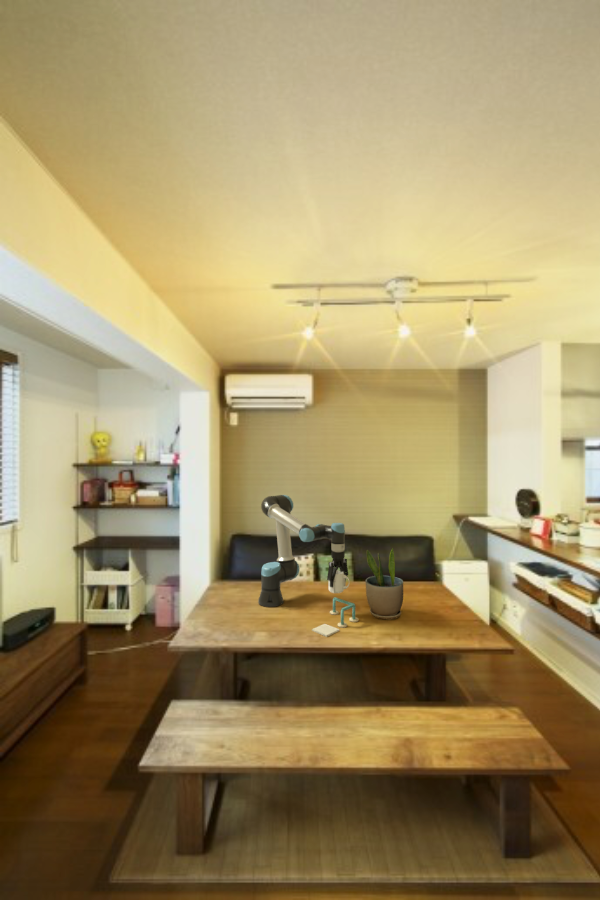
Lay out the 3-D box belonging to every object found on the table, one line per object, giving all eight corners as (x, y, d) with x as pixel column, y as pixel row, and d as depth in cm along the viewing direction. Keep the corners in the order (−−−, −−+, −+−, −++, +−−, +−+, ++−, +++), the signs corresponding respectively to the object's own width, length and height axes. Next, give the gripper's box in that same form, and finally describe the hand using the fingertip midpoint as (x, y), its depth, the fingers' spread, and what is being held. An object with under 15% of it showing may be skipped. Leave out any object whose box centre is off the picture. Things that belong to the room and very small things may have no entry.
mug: (349, 594, 226) (349, 574, 226) (327, 593, 228) (327, 574, 228) (349, 589, 235) (349, 570, 235) (329, 588, 236) (329, 569, 237)
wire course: (316, 618, 225) (316, 601, 225) (333, 610, 236) (333, 595, 236) (342, 628, 212) (343, 611, 212) (360, 620, 222) (360, 603, 222)
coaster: (311, 630, 209) (311, 629, 209) (324, 625, 216) (324, 623, 216) (326, 636, 202) (326, 635, 202) (339, 630, 209) (339, 629, 209)
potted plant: (357, 615, 230) (358, 544, 231) (378, 604, 246) (378, 538, 246) (390, 625, 216) (391, 550, 216) (410, 614, 232) (410, 543, 232)
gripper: (330, 554, 221) (330, 596, 220) (354, 548, 236) (354, 587, 236) (320, 552, 226) (320, 593, 226) (344, 546, 241) (344, 584, 241)
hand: (337, 590), depth 231 cm, fingers closed on mug, 9 cm apart
